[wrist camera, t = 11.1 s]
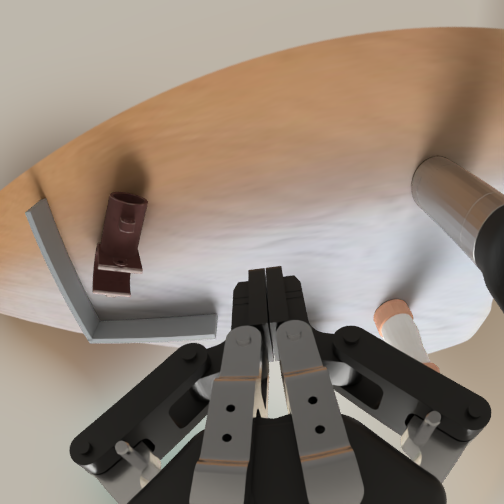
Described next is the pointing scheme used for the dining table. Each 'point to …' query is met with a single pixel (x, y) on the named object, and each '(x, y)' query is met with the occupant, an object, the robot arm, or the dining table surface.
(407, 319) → the pepper shaker
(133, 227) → the bracket
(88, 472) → the robot arm
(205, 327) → the angled bar
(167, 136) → the dining table surface
